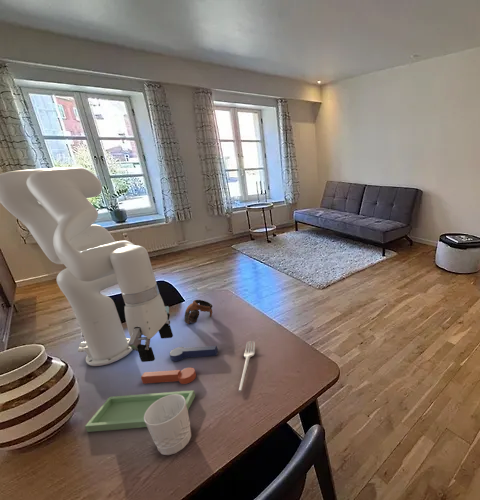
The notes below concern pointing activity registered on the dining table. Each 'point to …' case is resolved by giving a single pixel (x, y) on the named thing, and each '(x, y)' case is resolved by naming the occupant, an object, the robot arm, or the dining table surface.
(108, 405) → the tray
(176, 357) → the blue spoon
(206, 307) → the orange headphones
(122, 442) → the dining table surface
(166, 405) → the white cup
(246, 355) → the fork
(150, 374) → the terracotta spoon
